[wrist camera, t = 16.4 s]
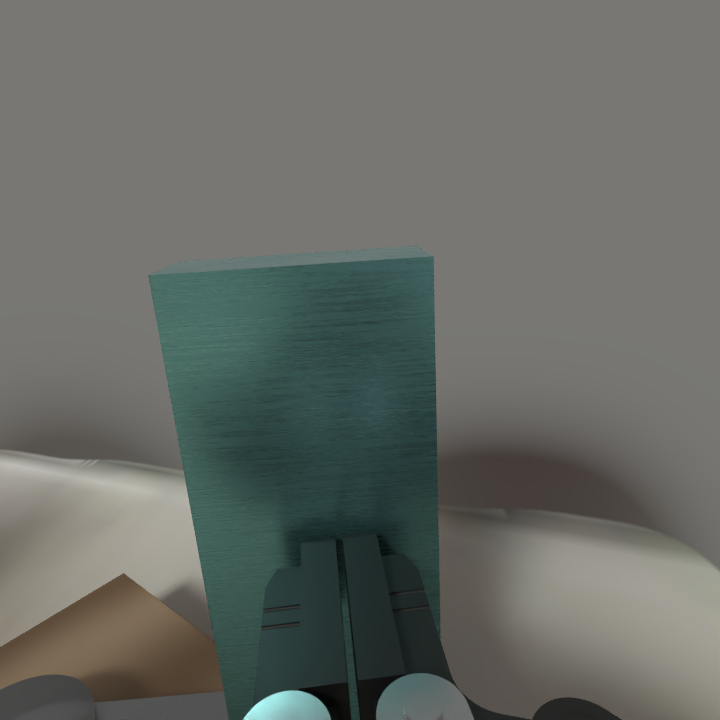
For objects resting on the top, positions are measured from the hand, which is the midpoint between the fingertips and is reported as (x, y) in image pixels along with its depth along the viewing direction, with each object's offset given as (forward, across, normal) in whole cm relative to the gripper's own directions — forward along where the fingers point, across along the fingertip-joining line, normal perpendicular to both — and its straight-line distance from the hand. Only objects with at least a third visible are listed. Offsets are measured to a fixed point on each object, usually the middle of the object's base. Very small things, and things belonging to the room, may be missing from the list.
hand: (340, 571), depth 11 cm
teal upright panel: (+1, +4, +7) cm, 8 cm away
